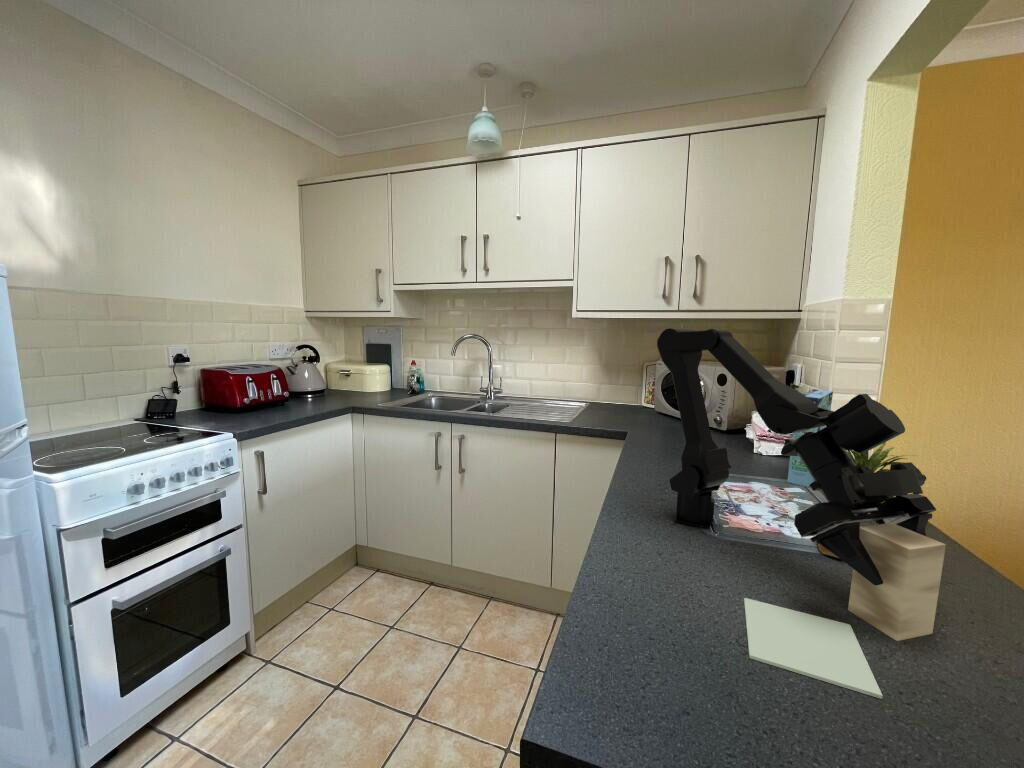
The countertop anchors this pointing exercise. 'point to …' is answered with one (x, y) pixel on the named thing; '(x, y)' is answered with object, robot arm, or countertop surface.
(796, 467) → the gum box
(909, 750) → the countertop surface
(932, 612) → the birch block
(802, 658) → the sage mat
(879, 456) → the house plant
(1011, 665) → the countertop surface
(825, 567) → the countertop surface
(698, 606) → the countertop surface
